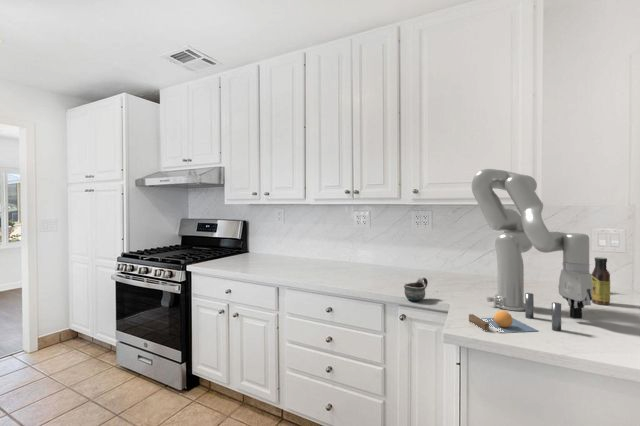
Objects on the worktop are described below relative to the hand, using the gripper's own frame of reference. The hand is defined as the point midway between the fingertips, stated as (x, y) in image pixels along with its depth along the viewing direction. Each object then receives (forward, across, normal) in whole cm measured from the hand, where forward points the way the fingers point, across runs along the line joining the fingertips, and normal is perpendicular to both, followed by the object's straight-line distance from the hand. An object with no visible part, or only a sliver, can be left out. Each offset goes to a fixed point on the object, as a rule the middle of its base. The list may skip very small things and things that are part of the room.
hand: (575, 317), depth 118 cm
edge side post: (+2, +6, -13) cm, 15 cm away
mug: (+2, -35, -46) cm, 58 cm away
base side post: (+2, -6, -13) cm, 15 cm away
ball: (-1, +2, -29) cm, 29 cm away
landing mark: (+2, 0, -27) cm, 27 cm away
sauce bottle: (+2, -20, +30) cm, 36 cm away
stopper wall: (+2, 0, -37) cm, 37 cm away
